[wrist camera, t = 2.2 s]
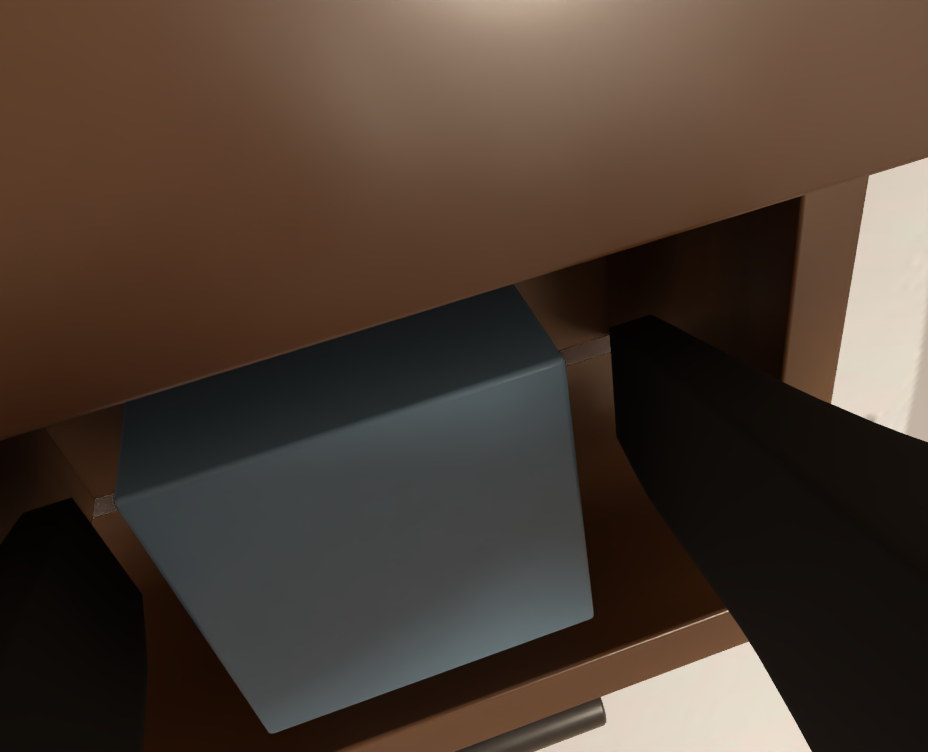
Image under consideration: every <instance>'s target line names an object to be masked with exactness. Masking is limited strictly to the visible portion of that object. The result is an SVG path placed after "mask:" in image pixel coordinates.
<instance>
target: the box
mask: <svg viewBox="0 0 928 752" xmlns="http://www.w3.org/2000/svg"><path fill="white" fill-rule="evenodd" d="M114 503H115V505H116V507H117V509H118V510H119V512H120V513H121V515H122V516H123V518H124V519H125V520H126V522H127V523H128V525H129V526H130V528H131V529H132V531H133V532H134V534H135V535H136V537H137V538H138V540H139V541H140V543H141V544H142V546H143V547H144V549H145V550H146V552H147V553H148V555H149V556H150V558H151V559H152V560H153V562H154V563H155V565H156V566H157V568H158V569H159V571H160V572H161V574H162V575H163V577H164V578H165V580H166V581H167V583H168V584H169V586H170V587H171V589H172V590H173V592H174V593H175V595H176V596H177V598H178V599H179V600H180V602H181V603H182V605H183V606H184V608H185V609H186V611H187V612H188V614H189V615H190V617H191V618H192V620H193V621H194V623H195V624H196V626H197V627H198V629H199V630H200V632H201V633H202V635H203V636H204V638H205V639H206V640H207V642H208V643H209V645H210V646H211V648H212V649H213V651H214V652H215V654H216V655H217V657H218V658H219V660H220V661H221V663H222V664H223V666H224V667H225V669H226V670H227V672H228V673H229V675H230V676H231V678H232V679H233V681H234V682H235V683H236V685H237V686H238V688H239V689H240V691H241V692H242V694H243V695H244V697H245V698H246V700H247V701H248V703H249V704H250V706H251V707H252V709H253V710H254V712H255V713H256V715H257V716H258V718H259V719H260V721H261V722H262V723H263V725H264V726H265V728H266V729H267V731H268V732H269V733H276V732H279V731H282V730H285V729H287V728H290V727H293V726H296V725H299V724H301V723H304V722H307V721H310V720H312V719H315V718H318V717H321V716H323V715H326V714H329V713H332V712H334V711H337V710H340V709H343V708H346V707H348V706H351V705H354V704H357V703H359V702H362V701H365V700H368V699H370V698H373V697H376V696H379V695H382V694H384V693H387V692H390V691H393V690H395V689H398V688H401V687H404V686H406V685H409V684H412V683H415V682H417V681H420V680H423V679H426V678H429V677H431V676H434V675H437V674H440V673H442V672H445V671H448V670H451V669H453V668H456V667H459V666H462V665H465V664H467V663H470V662H473V661H476V660H478V659H481V658H484V657H487V656H489V655H492V654H495V653H498V652H500V651H503V650H506V649H509V648H512V647H514V646H517V645H520V644H523V643H525V642H528V641H531V640H534V639H536V638H539V637H542V636H545V635H548V634H550V633H553V632H556V631H559V630H561V629H564V628H567V627H570V626H572V625H575V624H578V623H581V622H584V621H586V620H589V619H591V618H592V617H593V616H594V611H593V602H592V593H591V584H590V575H589V567H588V558H587V549H586V540H585V531H584V522H583V514H582V505H581V496H580V487H579V478H578V469H577V461H576V452H575V443H574V434H573V425H572V416H571V408H570V399H569V390H568V381H567V372H566V363H565V359H564V357H563V356H562V354H561V353H560V352H559V350H558V349H557V347H556V346H555V344H554V343H553V341H552V340H551V338H550V337H549V335H548V334H547V332H546V331H545V329H544V328H543V326H542V325H541V323H540V322H539V320H538V319H537V317H536V316H535V314H534V313H533V311H532V310H531V309H530V307H529V306H528V304H527V303H526V301H525V300H524V298H523V297H522V295H521V294H520V292H519V291H518V289H517V288H516V286H515V285H514V284H512V285H509V286H505V287H502V288H499V289H495V290H492V291H489V292H486V293H482V294H479V295H476V296H473V297H469V298H466V299H463V300H459V301H456V302H453V303H450V304H446V305H443V306H440V307H437V308H433V309H430V310H427V311H423V312H420V313H417V314H414V315H410V316H407V317H404V318H401V319H397V320H394V321H391V322H387V323H384V324H381V325H378V326H374V327H371V328H368V329H365V330H361V331H358V332H355V333H351V334H348V335H345V336H342V337H338V338H335V339H332V340H329V341H325V342H322V343H319V344H315V345H312V346H309V347H306V348H302V349H299V350H296V351H293V352H289V353H286V354H283V355H279V356H276V357H273V358H270V359H266V360H263V361H260V362H257V363H253V364H250V365H247V366H243V367H240V368H237V369H234V370H230V371H227V372H224V373H221V374H217V375H214V376H211V377H207V378H204V379H201V380H198V381H194V382H191V383H188V384H185V385H181V386H178V387H175V388H171V389H168V390H165V391H162V392H158V393H155V394H152V395H149V396H145V397H142V398H139V399H135V400H132V401H129V402H126V403H125V405H124V414H123V424H122V433H121V442H120V452H119V461H118V470H117V480H116V489H115V498H114Z"/></svg>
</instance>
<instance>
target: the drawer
mask: <svg viewBox="0 0 928 752" xmlns="http://www.w3.org/2000/svg"><path fill="white" fill-rule="evenodd" d="M868 177H869V175H868V176H865V177H862V178H859V179H855V180H852V181H849V182H846V183H842V184H839V185H836V186H832V187H829V188H826V189H823V190H819V191H816V192H813V193H810V194H806V195H803V196H800V197H796V198H793V199H790V200H787V201H783V202H780V203H777V204H774V205H770V206H767V207H764V208H760V209H757V210H754V211H751V212H747V213H744V214H741V215H738V216H734V217H731V218H728V219H724V220H721V221H718V222H715V223H711V224H708V225H705V226H702V227H698V228H695V229H692V230H688V231H685V232H682V233H679V234H675V235H672V236H669V237H666V238H662V239H659V240H656V241H652V242H649V243H646V244H643V245H639V246H636V247H633V248H630V249H626V250H623V251H620V252H616V253H613V254H610V255H607V256H603V257H600V258H597V259H594V260H590V261H587V262H584V263H580V264H577V265H574V266H571V267H567V268H564V269H561V270H558V271H554V272H551V273H548V274H544V275H541V276H538V277H535V278H531V279H528V280H525V281H522V282H518V283H515V284H514V285H515V286H516V288H517V289H518V291H519V292H520V294H521V295H522V297H523V298H524V300H525V301H526V303H527V304H528V306H529V307H530V309H531V310H532V311H533V313H534V314H535V316H536V317H537V319H538V320H539V322H540V323H541V325H542V326H543V328H544V329H545V331H546V332H547V334H548V335H549V337H550V338H551V340H552V341H553V343H554V344H555V346H556V347H557V349H558V350H559V351H560V350H563V349H566V348H570V347H573V346H576V345H579V344H582V343H585V342H588V341H592V340H595V339H598V338H601V337H604V336H607V335H610V332H609V327H612V326H616V325H619V324H622V323H625V322H628V321H631V320H635V319H638V318H641V317H644V316H647V315H650V314H651V315H654V316H656V317H658V318H660V319H662V320H664V321H666V322H668V323H669V324H671V325H673V326H675V327H677V328H679V329H681V330H683V331H685V332H687V333H689V334H690V335H692V336H694V337H696V338H698V339H700V340H702V341H704V342H705V343H707V344H709V345H711V346H713V347H715V348H717V349H719V350H721V351H723V352H725V353H726V354H728V355H730V356H732V357H734V358H736V359H738V360H740V361H742V362H744V363H746V364H748V365H750V366H752V367H754V368H756V369H758V370H760V371H762V372H764V373H766V374H768V375H770V376H772V377H774V378H776V379H778V380H780V381H782V382H784V383H786V384H788V385H790V386H792V387H795V388H797V389H799V390H801V391H803V392H805V393H807V394H810V395H812V396H814V397H816V398H818V399H821V400H823V401H825V402H827V403H830V404H831V400H832V394H833V388H834V382H835V376H836V370H837V364H838V358H839V352H840V346H841V340H842V334H843V328H844V322H845V316H846V310H847V304H848V298H849V292H850V286H851V280H852V274H853V268H854V262H855V256H856V250H857V244H858V238H859V232H860V225H861V219H862V213H863V207H864V201H865V195H866V189H867V183H868ZM566 372H567V381H568V390H569V399H570V408H571V416H572V425H573V434H574V443H575V452H576V461H577V469H578V478H579V487H580V496H581V505H582V514H583V522H584V531H585V540H586V549H587V558H588V567H589V575H590V584H591V593H592V602H593V611H594V616H593V617H592V618H591V619H589V620H586V621H584V622H581V623H578V624H575V625H572V626H570V627H567V628H564V629H561V630H559V631H556V632H553V633H550V634H548V635H545V636H542V637H539V638H536V639H534V640H531V641H528V642H525V643H523V644H520V645H517V646H514V647H512V648H509V649H506V650H503V651H500V652H498V653H495V654H492V655H489V656H487V657H484V658H481V659H478V660H476V661H473V662H470V663H467V664H465V665H462V666H459V667H456V668H453V669H451V670H448V671H445V672H442V673H440V674H437V675H434V676H431V677H429V678H426V679H423V680H420V681H417V682H415V683H412V684H409V685H406V686H404V687H401V688H398V689H395V690H393V691H390V692H387V693H384V694H382V695H379V696H376V697H373V698H370V699H368V700H365V701H362V702H359V703H357V704H354V705H351V706H348V707H346V708H343V709H340V710H337V711H334V712H332V713H329V714H326V715H323V716H321V717H318V718H315V719H312V720H310V721H307V722H304V723H301V724H299V725H296V726H293V727H290V728H287V729H285V730H282V731H279V732H276V733H269V732H268V731H267V729H266V728H265V726H264V725H263V723H262V722H261V721H260V719H259V718H258V716H257V715H256V713H255V712H254V710H253V709H252V707H251V706H250V704H249V703H248V701H247V700H246V698H245V697H244V695H243V694H242V692H241V691H240V689H239V688H238V686H237V685H236V683H235V682H234V681H233V679H232V678H231V676H230V675H229V673H228V672H227V670H226V669H225V667H224V666H223V664H222V663H221V661H220V660H219V658H218V657H217V655H216V654H215V652H214V651H213V649H212V648H211V646H210V645H209V643H208V642H207V640H206V639H205V638H204V636H203V635H202V633H201V632H200V630H199V629H198V627H197V626H196V624H195V623H194V621H193V620H192V618H191V617H190V615H189V614H188V612H187V611H186V609H185V608H184V606H183V605H182V603H181V602H180V600H179V599H178V598H177V596H176V595H175V593H174V592H173V590H172V589H171V587H170V586H169V584H168V583H167V581H166V580H165V578H164V577H163V575H162V574H161V572H160V571H159V569H158V568H157V566H156V565H155V563H154V562H153V560H152V559H151V558H150V556H149V555H148V553H147V552H146V550H145V549H144V547H143V546H142V544H141V543H140V541H139V540H138V538H137V537H136V535H135V534H134V532H133V531H132V529H131V528H130V526H129V525H128V523H127V522H126V520H125V519H124V518H123V516H122V515H121V513H120V512H119V510H118V511H115V512H112V513H109V514H106V515H102V516H99V517H96V518H93V511H94V504H95V500H94V499H95V498H98V497H101V496H104V495H108V494H111V493H114V492H115V489H116V480H117V470H118V461H119V452H120V442H121V433H122V424H123V414H124V405H125V403H122V404H119V405H116V406H113V407H109V408H106V409H103V410H100V411H96V412H93V413H90V414H86V415H83V416H80V417H77V418H73V419H70V420H67V421H64V422H60V423H57V424H54V425H50V426H47V427H44V428H41V429H37V430H34V431H31V432H28V433H24V434H21V435H18V436H14V437H11V438H8V439H5V440H1V441H0V545H1V543H2V542H3V540H4V539H5V537H6V536H7V534H8V533H9V531H10V530H11V528H12V527H13V526H14V524H15V523H16V522H17V520H18V519H19V517H20V516H21V515H22V513H24V512H27V511H30V510H33V509H37V508H40V507H43V506H46V505H49V504H52V503H56V502H59V501H62V500H65V499H68V498H71V497H72V498H73V499H74V501H75V502H76V503H77V505H78V506H79V507H80V509H81V510H82V512H83V513H84V514H85V516H86V517H87V519H88V520H89V521H90V523H91V524H92V525H93V527H94V528H95V530H96V531H97V532H98V534H99V535H100V537H101V538H102V539H103V541H104V542H105V543H106V545H107V546H108V548H109V549H110V550H111V552H112V553H113V555H114V556H115V557H116V559H117V560H118V561H119V563H120V564H121V566H122V567H123V568H124V570H125V571H126V573H127V574H128V575H129V577H130V578H131V579H132V581H133V582H134V584H135V585H136V586H137V588H138V589H139V591H140V592H141V593H142V595H143V606H144V618H145V629H146V644H147V662H148V675H147V694H146V710H145V726H144V740H143V752H534V751H537V750H540V749H542V748H545V747H548V746H550V745H553V744H556V743H558V742H561V741H563V740H566V739H569V738H571V737H574V736H577V735H579V734H582V733H585V732H587V731H590V730H593V729H595V728H598V727H600V726H603V725H605V723H606V714H605V710H604V706H603V703H602V700H601V697H602V696H604V695H607V694H610V693H612V692H615V691H618V690H620V689H623V688H626V687H628V686H631V685H634V684H636V683H639V682H642V681H644V680H647V679H650V678H652V677H655V676H658V675H660V674H663V673H666V672H668V671H671V670H674V669H676V668H679V667H682V666H684V665H687V664H690V663H692V662H695V661H698V660H700V659H703V658H706V657H708V656H711V655H714V654H716V653H719V652H722V651H724V650H727V649H730V648H732V647H735V646H738V645H740V644H743V643H746V642H749V641H748V639H747V638H746V636H745V635H744V633H743V631H742V630H741V628H740V627H739V625H738V624H737V622H736V621H735V620H734V618H733V617H732V615H731V614H730V613H729V611H728V610H727V608H726V607H725V605H724V604H723V603H722V601H721V600H720V598H719V597H718V596H717V594H716V593H715V591H714V590H713V589H712V587H711V586H710V584H709V583H708V582H707V580H706V579H705V577H704V576H703V574H702V573H701V572H700V570H699V569H698V567H697V566H696V565H695V563H694V562H693V560H692V559H691V558H690V556H689V555H688V553H687V552H686V551H685V549H684V548H683V546H682V545H681V544H680V542H679V541H678V539H677V538H676V536H675V535H674V534H673V532H672V531H671V529H670V528H669V526H668V525H667V524H666V522H665V521H664V519H663V518H662V516H661V515H660V514H659V512H658V511H657V509H656V508H655V506H654V505H653V503H652V502H651V500H650V499H649V498H648V496H647V494H646V492H645V490H644V489H643V487H642V485H641V483H640V481H639V479H638V478H637V476H636V474H635V472H634V470H633V468H632V466H631V464H630V463H629V461H628V459H627V457H626V455H625V453H624V451H623V449H622V447H621V445H620V443H619V441H618V439H617V437H616V425H615V409H614V394H613V378H612V363H611V352H610V353H607V354H604V355H601V356H598V357H595V358H592V359H588V360H585V361H582V362H579V363H576V364H573V365H570V366H567V367H566Z"/></svg>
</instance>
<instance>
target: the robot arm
mask: <svg viewBox="0 0 928 752" xmlns="http://www.w3.org/2000/svg"><path fill="white" fill-rule="evenodd" d="M609 332H610V347H611V363H612V378H613V394H614V409H615V425H616V437H617V439H618V441H619V443H620V445H621V447H622V449H623V451H624V453H625V455H626V457H627V459H628V461H629V463H630V464H631V466H632V468H633V470H634V472H635V474H636V476H637V478H638V479H639V481H640V483H641V485H642V487H643V489H644V490H645V492H646V494H647V496H648V498H649V499H650V500H651V502H652V503H653V505H654V506H655V508H656V509H657V511H658V512H659V514H660V515H661V516H662V518H663V519H664V521H665V522H666V524H667V525H668V526H669V528H670V529H671V531H672V532H673V534H674V535H675V536H676V538H677V539H678V541H679V542H680V544H681V545H682V546H683V548H684V549H685V551H686V552H687V553H688V555H689V556H690V558H691V559H692V560H693V562H694V563H695V565H696V566H697V567H698V569H699V570H700V572H701V573H702V574H703V576H704V577H705V579H706V580H707V582H708V583H709V584H710V586H711V587H712V589H713V590H714V591H715V593H716V594H717V596H718V597H719V598H720V600H721V601H722V603H723V604H724V605H725V607H726V608H727V610H728V611H729V613H730V614H731V615H732V617H733V618H734V620H735V621H736V622H737V624H738V625H739V627H740V628H741V630H742V631H743V633H744V635H745V636H746V638H747V639H748V641H749V642H750V644H751V645H752V647H753V648H754V650H755V651H756V653H757V655H758V656H759V658H760V660H761V662H762V663H763V665H764V667H765V669H766V670H767V672H768V674H769V676H770V677H771V679H772V681H773V683H774V684H775V686H776V688H777V690H778V691H779V693H780V695H781V697H782V698H783V700H784V702H785V704H786V705H787V707H788V709H789V711H790V712H791V714H792V716H793V718H794V719H795V721H796V723H797V725H798V727H799V729H800V730H801V732H802V734H803V736H804V738H805V740H806V741H807V743H808V745H809V747H810V749H811V751H812V752H928V442H925V441H922V440H920V439H917V438H914V437H911V436H908V435H905V434H903V433H900V432H897V431H895V430H892V429H890V428H887V427H885V426H882V425H879V424H877V423H874V422H872V421H869V420H867V419H865V418H862V417H860V416H858V415H855V414H853V413H851V412H848V411H846V410H844V409H841V408H839V407H837V406H834V405H832V404H830V403H827V402H825V401H823V400H821V399H818V398H816V397H814V396H812V395H810V394H807V393H805V392H803V391H801V390H799V389H797V388H795V387H792V386H790V385H788V384H786V383H784V382H782V381H780V380H778V379H776V378H774V377H772V376H770V375H768V374H766V373H764V372H762V371H760V370H758V369H756V368H754V367H752V366H750V365H748V364H746V363H744V362H742V361H740V360H738V359H736V358H734V357H732V356H730V355H728V354H726V353H725V352H723V351H721V350H719V349H717V348H715V347H713V346H711V345H709V344H707V343H705V342H704V341H702V340H700V339H698V338H696V337H694V336H692V335H690V334H689V333H687V332H685V331H683V330H681V329H679V328H677V327H675V326H673V325H671V324H669V323H668V322H666V321H664V320H662V319H660V318H658V317H656V316H654V315H651V314H650V315H647V316H644V317H641V318H638V319H635V320H631V321H628V322H625V323H622V324H619V325H616V326H612V327H609ZM147 675H148V662H147V644H146V629H145V618H144V606H143V595H142V593H141V592H140V591H139V589H138V588H137V586H136V585H135V584H134V582H133V581H132V579H131V578H130V577H129V575H128V574H127V573H126V571H125V570H124V568H123V567H122V566H121V564H120V563H119V561H118V560H117V559H116V557H115V556H114V555H113V553H112V552H111V550H110V549H109V548H108V546H107V545H106V543H105V542H104V541H103V539H102V538H101V537H100V535H99V534H98V532H97V531H96V530H95V528H94V527H93V525H92V524H91V523H90V521H89V520H88V519H87V517H86V516H85V514H84V513H83V512H82V510H81V509H80V507H79V506H78V505H77V503H76V502H75V501H74V499H73V498H72V497H71V498H68V499H65V500H62V501H59V502H56V503H52V504H49V505H46V506H43V507H40V508H37V509H33V510H30V511H27V512H24V513H22V515H21V516H20V517H19V519H18V520H17V522H16V523H15V524H14V526H13V527H12V528H11V530H10V531H9V533H8V534H7V536H6V537H5V539H4V540H3V542H2V543H1V545H0V752H143V740H144V726H145V710H146V694H147Z"/></svg>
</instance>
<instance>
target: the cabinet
mask: <svg viewBox="0 0 928 752" xmlns="http://www.w3.org/2000/svg"><path fill="white" fill-rule="evenodd" d="M927 157H928V0H0V441H1V440H5V439H8V438H11V437H14V436H18V435H21V434H24V433H28V432H31V431H34V430H37V429H41V428H44V427H47V426H50V425H54V424H57V423H60V422H64V421H67V420H70V419H73V418H77V417H80V416H83V415H86V414H90V413H93V412H96V411H100V410H103V409H106V408H109V407H113V406H116V405H119V404H122V403H126V402H129V401H132V400H135V399H139V398H142V397H145V396H149V395H152V394H155V393H158V392H162V391H165V390H168V389H171V388H175V387H178V386H181V385H185V384H188V383H191V382H194V381H198V380H201V379H204V378H207V377H211V376H214V375H217V374H221V373H224V372H227V371H230V370H234V369H237V368H240V367H243V366H247V365H250V364H253V363H257V362H260V361H263V360H266V359H270V358H273V357H276V356H279V355H283V354H286V353H289V352H293V351H296V350H299V349H302V348H306V347H309V346H312V345H315V344H319V343H322V342H325V341H329V340H332V339H335V338H338V337H342V336H345V335H348V334H351V333H355V332H358V331H361V330H365V329H368V328H371V327H374V326H378V325H381V324H384V323H387V322H391V321H394V320H397V319H401V318H404V317H407V316H410V315H414V314H417V313H420V312H423V311H427V310H430V309H433V308H437V307H440V306H443V305H446V304H450V303H453V302H456V301H459V300H463V299H466V298H469V297H473V296H476V295H479V294H482V293H486V292H489V291H492V290H495V289H499V288H502V287H505V286H509V285H512V284H515V283H518V282H522V281H525V280H528V279H531V278H535V277H538V276H541V275H544V274H548V273H551V272H554V271H558V270H561V269H564V268H567V267H571V266H574V265H577V264H580V263H584V262H587V261H590V260H594V259H597V258H600V257H603V256H607V255H610V254H613V253H616V252H620V251H623V250H626V249H630V248H633V247H636V246H639V245H643V244H646V243H649V242H652V241H656V240H659V239H662V238H666V237H669V236H672V235H675V234H679V233H682V232H685V231H688V230H692V229H695V228H698V227H702V226H705V225H708V224H711V223H715V222H718V221H721V220H724V219H728V218H731V217H734V216H738V215H741V214H744V213H747V212H751V211H754V210H757V209H760V208H764V207H767V206H770V205H774V204H777V203H780V202H783V201H787V200H790V199H793V198H796V197H800V196H803V195H806V194H810V193H813V192H816V191H819V190H823V189H826V188H829V187H832V186H836V185H839V184H842V183H846V182H849V181H852V180H855V179H859V178H862V177H865V176H868V175H872V174H875V173H878V172H882V171H885V170H888V169H891V168H895V167H898V166H901V165H904V164H908V163H911V162H914V161H918V160H921V159H924V158H927Z"/></svg>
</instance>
